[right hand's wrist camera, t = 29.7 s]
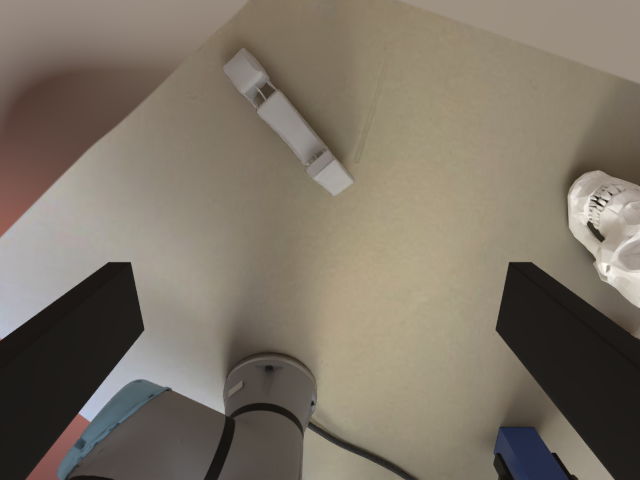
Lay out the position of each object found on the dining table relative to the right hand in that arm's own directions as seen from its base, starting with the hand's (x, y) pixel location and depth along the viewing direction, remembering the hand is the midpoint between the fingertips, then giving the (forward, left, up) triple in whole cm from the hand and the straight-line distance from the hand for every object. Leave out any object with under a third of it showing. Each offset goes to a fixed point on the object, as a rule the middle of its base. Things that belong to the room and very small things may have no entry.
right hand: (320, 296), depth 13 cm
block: (-60, +8, -36) cm, 71 cm away
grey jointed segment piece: (+5, 0, -36) cm, 37 cm away
